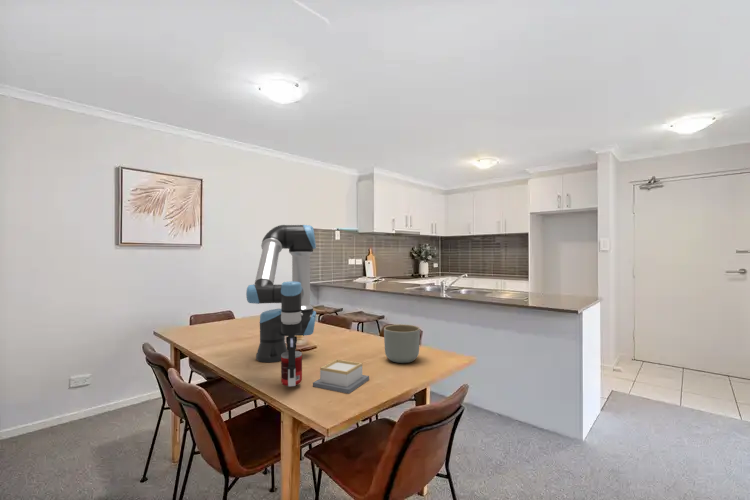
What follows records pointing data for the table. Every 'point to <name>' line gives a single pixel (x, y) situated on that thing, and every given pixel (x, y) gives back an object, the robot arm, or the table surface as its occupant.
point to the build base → (341, 376)
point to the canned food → (285, 365)
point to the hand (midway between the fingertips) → (291, 381)
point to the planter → (401, 342)
